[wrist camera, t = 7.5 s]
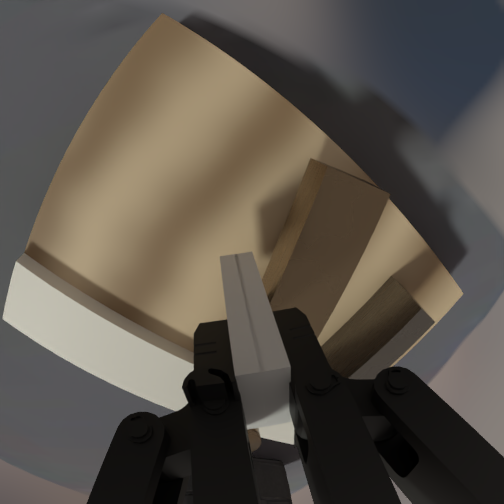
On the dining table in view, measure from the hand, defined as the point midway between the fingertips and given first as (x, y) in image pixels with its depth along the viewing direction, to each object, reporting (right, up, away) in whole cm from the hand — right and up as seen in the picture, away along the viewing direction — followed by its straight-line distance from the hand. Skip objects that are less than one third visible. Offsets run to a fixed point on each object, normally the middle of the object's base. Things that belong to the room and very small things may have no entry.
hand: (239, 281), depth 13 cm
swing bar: (+1, -3, +3) cm, 4 cm away
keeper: (+7, -4, +5) cm, 10 cm away
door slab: (+2, +1, +6) cm, 6 cm away
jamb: (-4, -6, +8) cm, 11 cm away
